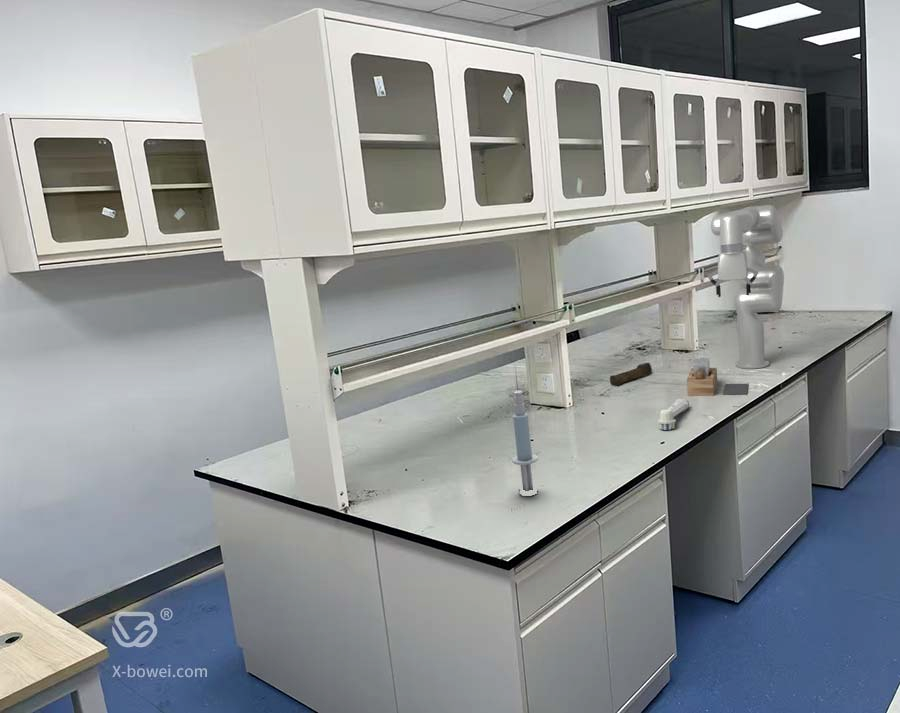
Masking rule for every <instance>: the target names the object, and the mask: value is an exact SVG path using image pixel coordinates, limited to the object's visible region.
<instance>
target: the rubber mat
mask: <svg viewBox="0 0 900 713" xmlns="http://www.w3.org/2000/svg"><path fill="white" fill-rule="evenodd" d="M748 389H749V382H747V383H725V384H724V386H723V391H722V396H736V395H737V396H744V395H745V396H747V395H748Z"/></svg>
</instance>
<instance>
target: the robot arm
mask: <svg viewBox="0 0 900 713" xmlns="http://www.w3.org/2000/svg"><path fill="white" fill-rule="evenodd" d="M782 225H783V224H782V222H781V218H780V214H779V212H778V210H777V208H776V207H775V206H774V205H772V204H765V205H755V206H754V205H753V206H747V207H744V208H741V209H737V210H732V211H729V212H724V213H720V214H717V215H714V216H713V217H712V219H711V222H710V230H711V232H712V234H713V235H714V236H717V237H718V236H719V238H720V239H719V240H720V241H719V242H720V253H719V254H718V258H717V269H716V270H714V271H712V272H710V273H709V274H707V278H708V280H709V281H710V283H711V284H712V285H714V286H715V289H716V291H715V293H716V296H718V298H721V295H722V293H721V285H720V284H721V283H722V282H727V281H728V282H730V281H740V284H741V286H742V289H740V290H738V291H736V292H735V294H734V301H733V302H734V306H735V307H734V308H735V311H736V317H737V334H738V337H737V338H738V353H739V354H738V357H739V360H738V361H736V362H735V366H736V367H737V368H738V369H739V368H740V369H748V370H751V369H752V370H753V369H761V368H767V367H768V366H770V362H769V361H768V360H765V359H766V358H765V356H766V355H765V334H764V333H765V332H764V331H765V330H764V329H765V328H764V321H763V319H762V318H761V317H760V315H759V314H758V313H766V312H771V313H772V312H773V313H774V312H777V311H779V310H780V309H781V308H782V304H783V295H784V283H785V273H784V270H783V267H782V266H780V265H778V264H766V255H765V254H764V253H763V252H762V251H761V250H760V249H759V248H757V247H756V246H759V245H760V246H761V245H775V244H778V243H779V242H781V241H782V239H783V235H784V231H783V226H782ZM715 275H717V278H718V280H715V279H714V276H715Z"/></svg>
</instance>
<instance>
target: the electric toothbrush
mask: <svg viewBox="0 0 900 713" xmlns="http://www.w3.org/2000/svg"><path fill="white" fill-rule="evenodd" d="M689 406H690V402H689V400H688V399H686V398H677V399H676V400H675V401H674V402H673V403H672V405H671V406H669V407H668V408H667V409H661V410H660V413H659V419H657V423H658V429H660V430H663V431H664V430H665V431H668V430H669V431H670V430H671V429H672V430H675V427H676V426H675V423H676V422H677V420H676V419H675V418H674V417H676V416H678V415H679V414H680V413H682V412H683V413H684V412H686V410H687V409H688V408H689Z"/></svg>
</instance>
